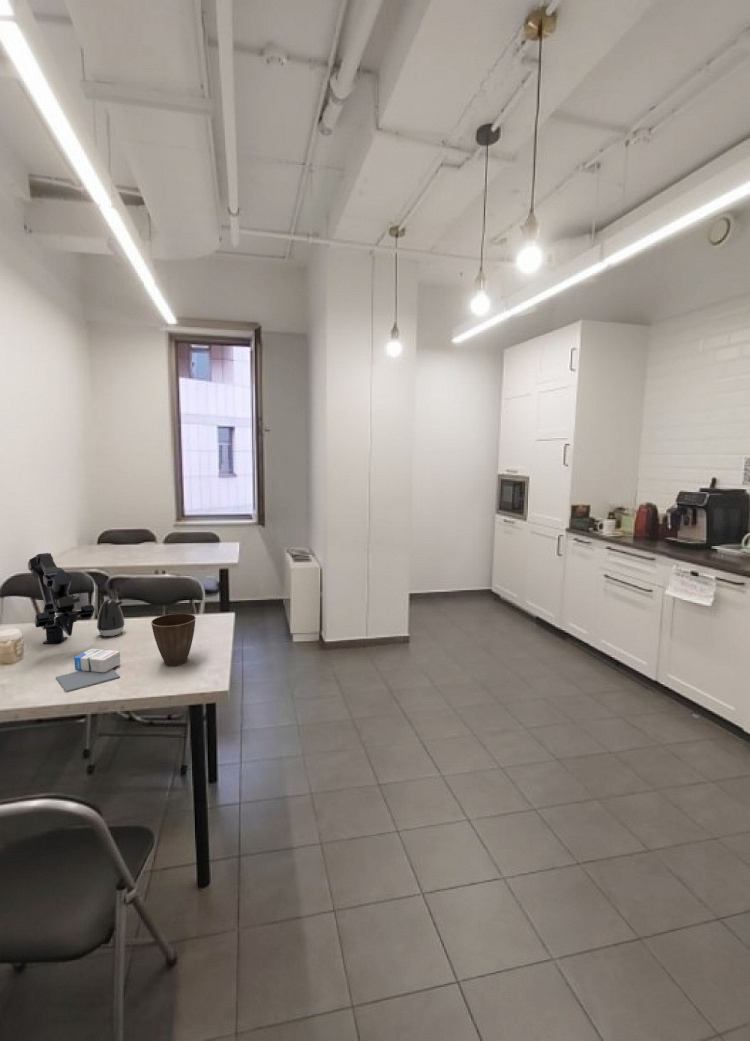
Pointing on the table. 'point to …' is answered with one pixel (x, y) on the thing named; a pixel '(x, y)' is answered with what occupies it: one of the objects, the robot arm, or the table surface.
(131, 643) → the table surface
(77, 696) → the table surface
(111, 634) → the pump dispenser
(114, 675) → the mat
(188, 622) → the plant pot
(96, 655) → the ink box
